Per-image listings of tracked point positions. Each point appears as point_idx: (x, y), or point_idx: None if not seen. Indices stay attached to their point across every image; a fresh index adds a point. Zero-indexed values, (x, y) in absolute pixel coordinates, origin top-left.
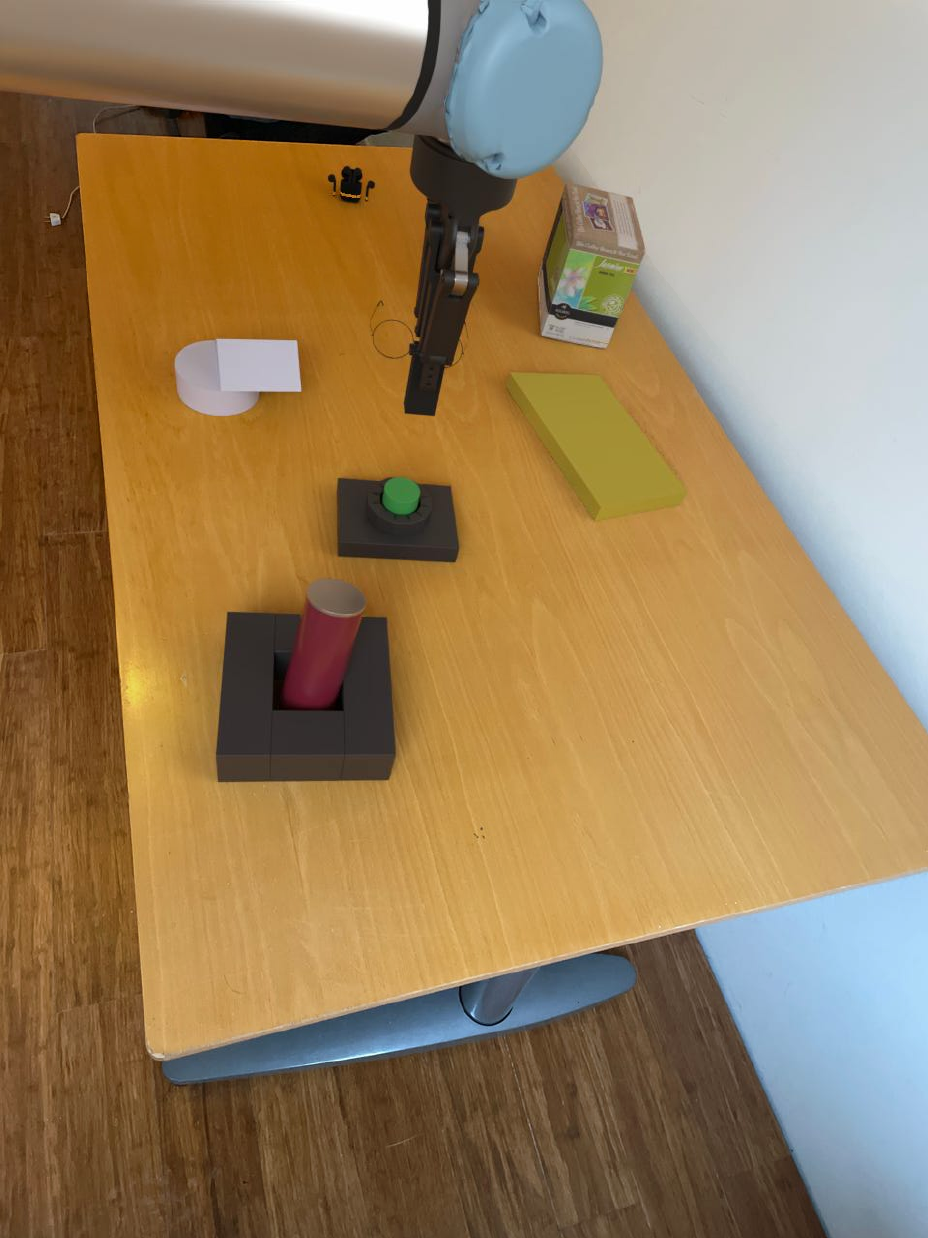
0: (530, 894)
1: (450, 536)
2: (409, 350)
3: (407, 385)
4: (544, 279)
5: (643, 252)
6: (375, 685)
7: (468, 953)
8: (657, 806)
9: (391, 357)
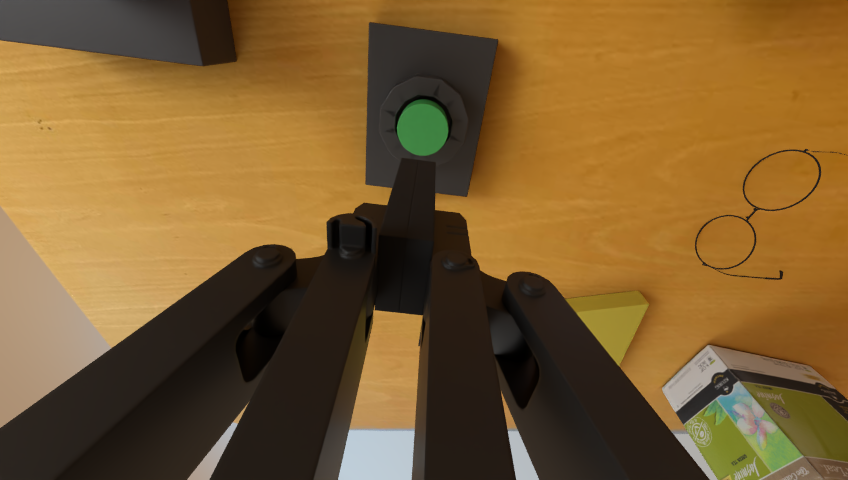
0: (5, 156)
1: (383, 178)
2: (355, 219)
3: (424, 179)
4: (793, 382)
5: None
6: (87, 29)
7: None
8: (130, 272)
9: (750, 170)
